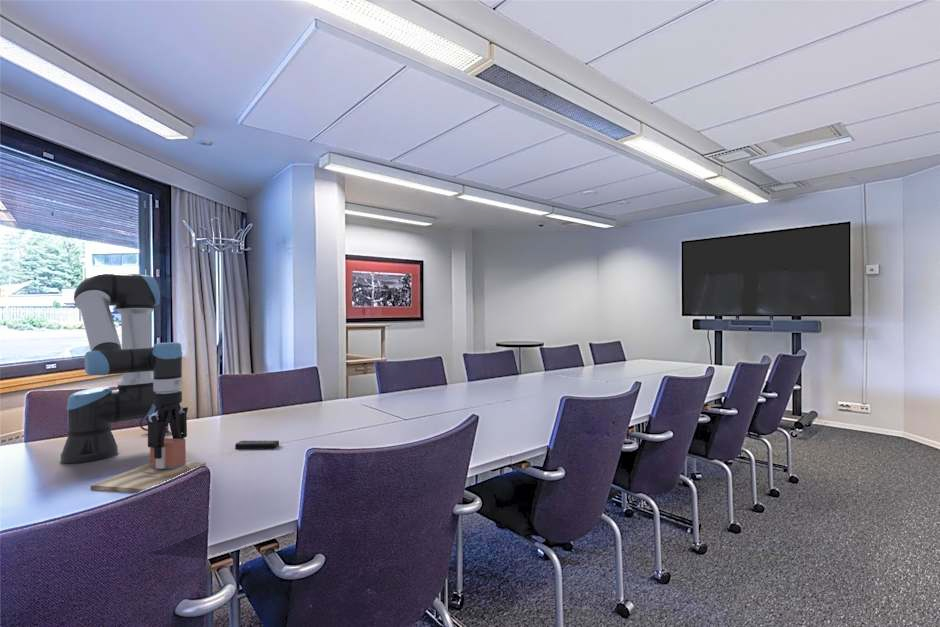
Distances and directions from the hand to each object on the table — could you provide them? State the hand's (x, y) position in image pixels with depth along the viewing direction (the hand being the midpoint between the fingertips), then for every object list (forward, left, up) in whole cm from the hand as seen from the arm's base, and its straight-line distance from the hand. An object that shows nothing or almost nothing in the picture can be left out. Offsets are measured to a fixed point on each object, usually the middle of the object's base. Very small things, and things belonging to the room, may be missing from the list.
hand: (168, 464), depth 141 cm
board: (0, -6, -2) cm, 6 cm away
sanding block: (0, 0, 0) cm, 0 cm away
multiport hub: (+13, +26, -2) cm, 29 cm away
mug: (-44, +39, -2) cm, 59 cm away
